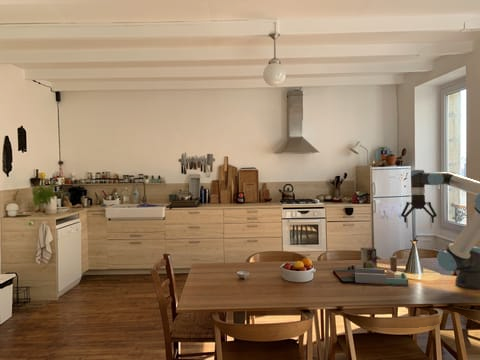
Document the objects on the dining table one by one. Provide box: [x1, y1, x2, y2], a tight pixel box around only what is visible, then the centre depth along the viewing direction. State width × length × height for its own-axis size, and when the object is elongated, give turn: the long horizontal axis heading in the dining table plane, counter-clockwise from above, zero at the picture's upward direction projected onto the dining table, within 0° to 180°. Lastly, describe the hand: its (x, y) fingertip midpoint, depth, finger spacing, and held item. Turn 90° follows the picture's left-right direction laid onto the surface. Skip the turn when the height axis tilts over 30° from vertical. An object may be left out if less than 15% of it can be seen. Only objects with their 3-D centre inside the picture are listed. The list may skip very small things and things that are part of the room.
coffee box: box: [360, 246, 378, 269], centre depth 245 cm, size 9×6×16 cm
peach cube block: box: [385, 269, 395, 278], centre depth 223 cm, size 4×4×4 cm
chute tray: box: [385, 271, 409, 286], centre depth 222 cm, size 12×14×4 cm
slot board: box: [354, 267, 388, 285], centre depth 227 cm, size 18×14×6 cm
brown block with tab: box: [389, 255, 398, 273], centre depth 236 cm, size 4×8×12 cm, turn 162°
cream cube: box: [394, 272, 402, 279], centre depth 222 cm, size 4×4×4 cm
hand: (418, 227), depth 227 cm, fingers open, 13 cm apart
